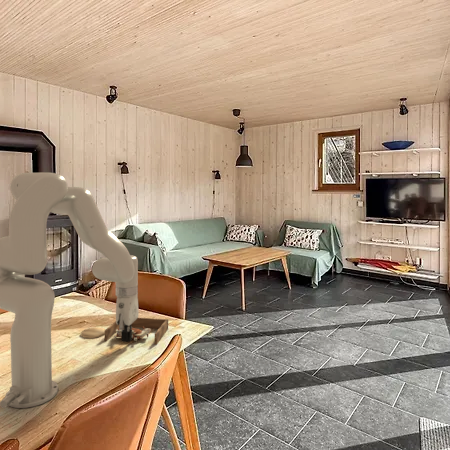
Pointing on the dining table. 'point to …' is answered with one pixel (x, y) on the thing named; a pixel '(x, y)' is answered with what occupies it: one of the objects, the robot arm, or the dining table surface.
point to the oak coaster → (93, 332)
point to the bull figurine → (134, 333)
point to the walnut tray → (140, 323)
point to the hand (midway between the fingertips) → (126, 340)
